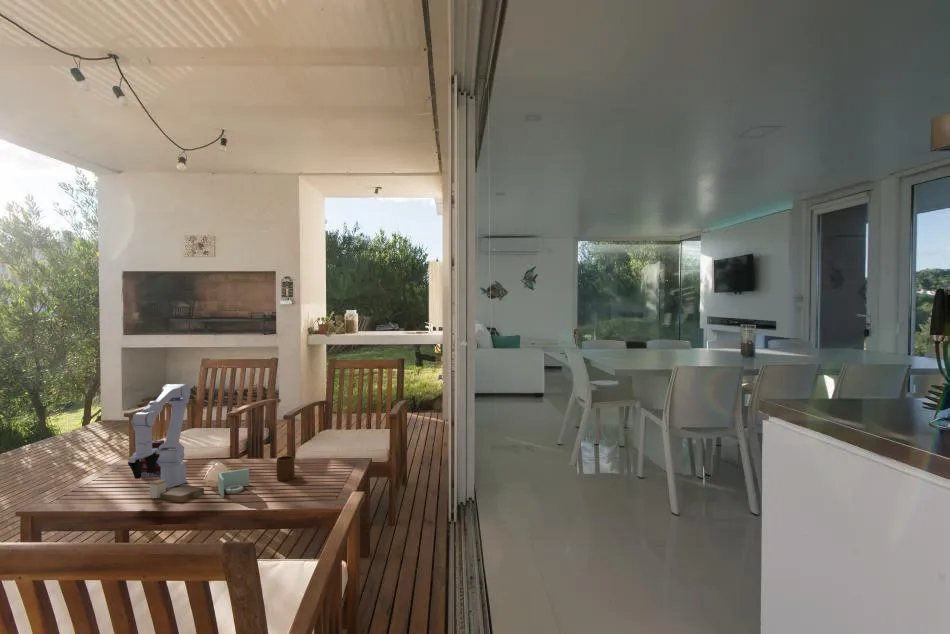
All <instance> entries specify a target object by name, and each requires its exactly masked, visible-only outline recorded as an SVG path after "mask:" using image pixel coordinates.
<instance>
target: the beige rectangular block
mask: <svg viewBox="0 0 950 634" xmlns="http://www.w3.org/2000/svg"><path fill="white" fill-rule="evenodd" d="M148 484H149V499H154V498H158V499H160V494H161V493H164V492H166V491H167V488H166V480H161V478H160V479H156V480H153V481H150V482H149V483H148Z"/></svg>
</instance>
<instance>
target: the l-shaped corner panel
mask: <svg viewBox="0 0 950 634" xmlns="http://www.w3.org/2000/svg"><path fill="white" fill-rule="evenodd" d="M245 485H246V486H249V485H250V469H249V468H242V469H241V468H240V469H236V470H228V471H223V472H218V473H217V490H218V492H219V494H220V497H221V498H224V497H225V494H230V495H231V494H238V493H240V492H243V490H244V487H245Z"/></svg>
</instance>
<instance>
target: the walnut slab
mask: <svg viewBox="0 0 950 634" xmlns="http://www.w3.org/2000/svg"><path fill="white" fill-rule="evenodd" d="M203 495H205V488H204V487H200V486H192V485H184V484H183V485H181V486H179V487H176V488H173V489H170V490H166V492H164V493H161V494H160V498H159V499H160V501H165V502H172V503H178V502H182V503H183V502H184V503H185V502H186V501H189V500H192V499H195V498H198V497H200V496H203Z"/></svg>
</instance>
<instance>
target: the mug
mask: <svg viewBox="0 0 950 634" xmlns="http://www.w3.org/2000/svg"><path fill="white" fill-rule="evenodd" d="M295 469H296V468H295V457H294V456H292V455H291V454H288V455H285V456H279V457H278V458H276V480H277V481H279V482H288V481H291V480H293V479H295V473H296V472H295Z"/></svg>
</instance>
